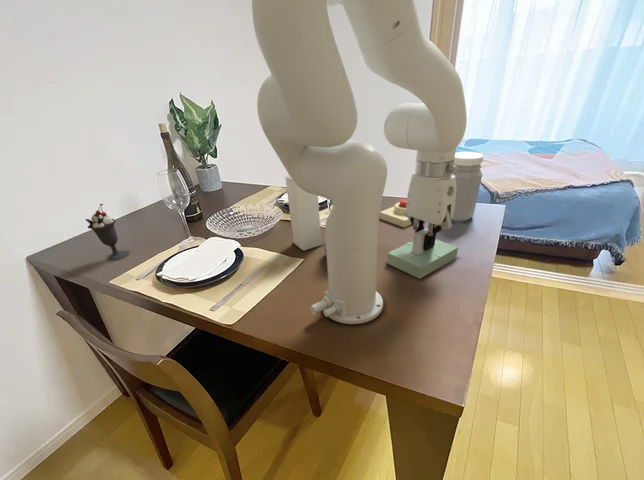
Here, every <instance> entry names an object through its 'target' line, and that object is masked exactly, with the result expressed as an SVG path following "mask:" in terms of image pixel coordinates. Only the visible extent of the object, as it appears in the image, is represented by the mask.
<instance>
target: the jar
mask: <svg viewBox="0 0 644 480" xmlns="http://www.w3.org/2000/svg"><path fill="white" fill-rule="evenodd" d="M454 160H455V162H454V165H455V166H458V171H457V172H456V173H452V175H455V178H456V199H455V209H454V215H453V218H452V219H451V222H452V223H453V222H454V223H455V222H456V223H457V222H458V223H461V222H467V221H468V220H470V219H471V218H472V217H474V214H475V210H476V205H477V201H478V196H479V192H480V188H481V183H482V178H483V172H482V170H481V168H482V165H481V164H483V160H484V155H483V153H481V152H478V151H457V152H455V158H454Z"/></svg>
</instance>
